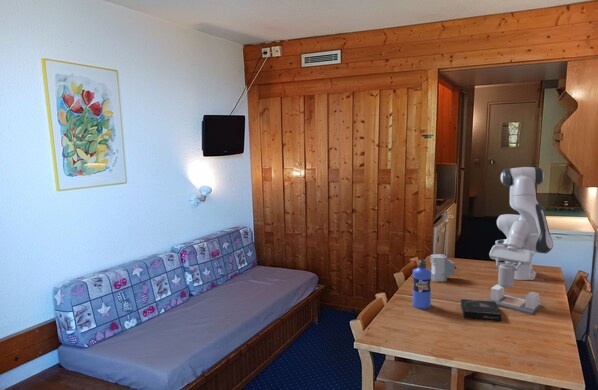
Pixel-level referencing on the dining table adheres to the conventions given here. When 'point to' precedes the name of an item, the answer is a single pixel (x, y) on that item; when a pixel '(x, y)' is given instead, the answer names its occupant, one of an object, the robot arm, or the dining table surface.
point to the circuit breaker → (441, 267)
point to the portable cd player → (480, 310)
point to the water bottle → (421, 286)
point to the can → (506, 275)
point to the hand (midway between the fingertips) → (506, 268)
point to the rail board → (515, 301)
